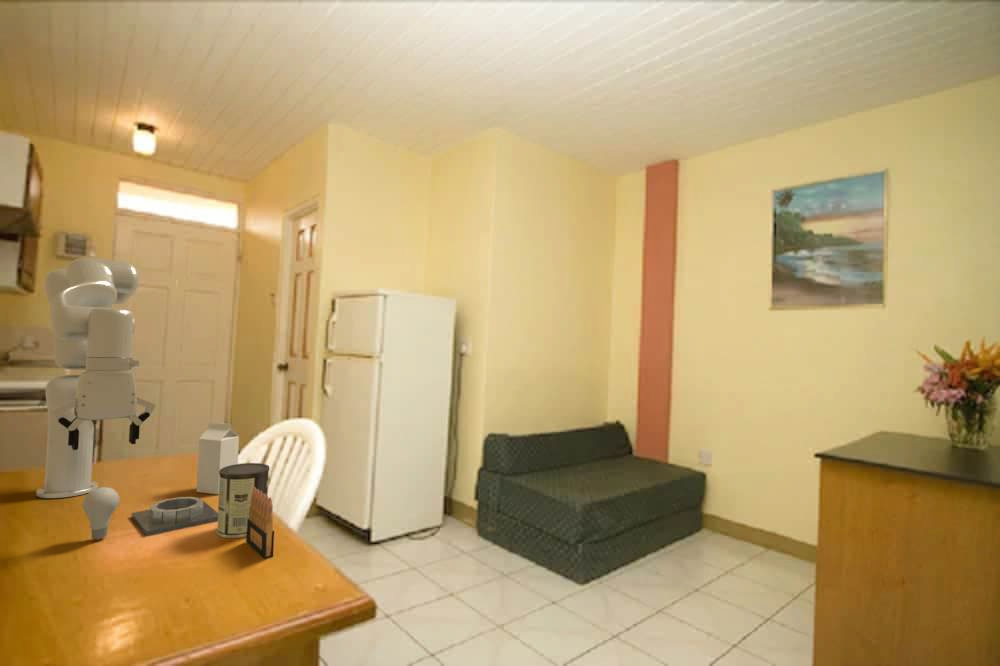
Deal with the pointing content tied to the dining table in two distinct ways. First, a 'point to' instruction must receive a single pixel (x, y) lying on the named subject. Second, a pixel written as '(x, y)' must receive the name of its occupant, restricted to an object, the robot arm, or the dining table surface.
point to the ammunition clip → (261, 524)
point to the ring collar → (174, 515)
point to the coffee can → (238, 496)
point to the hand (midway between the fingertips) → (104, 445)
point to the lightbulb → (100, 509)
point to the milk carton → (215, 455)
